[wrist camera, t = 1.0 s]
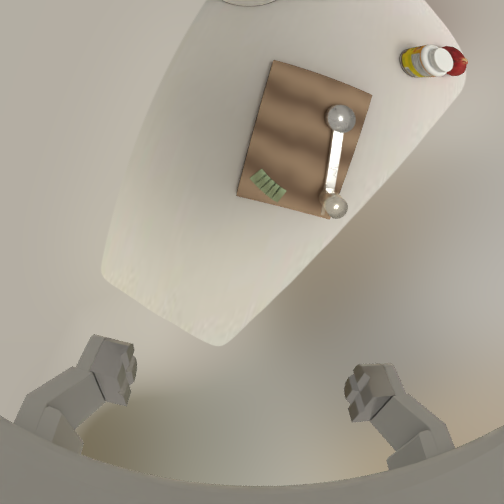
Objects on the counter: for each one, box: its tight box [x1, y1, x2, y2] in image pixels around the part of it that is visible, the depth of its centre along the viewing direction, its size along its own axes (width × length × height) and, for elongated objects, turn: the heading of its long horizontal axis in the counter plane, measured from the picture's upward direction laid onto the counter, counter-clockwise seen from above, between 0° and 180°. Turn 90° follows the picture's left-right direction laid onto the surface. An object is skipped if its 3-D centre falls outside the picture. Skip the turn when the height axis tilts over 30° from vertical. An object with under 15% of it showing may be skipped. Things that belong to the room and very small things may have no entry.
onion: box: [442, 46, 468, 76], centre depth 31 cm, size 6×6×8 cm
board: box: [237, 60, 372, 219], centre depth 43 cm, size 23×16×2 cm
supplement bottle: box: [400, 45, 453, 77], centre depth 31 cm, size 6×6×10 cm
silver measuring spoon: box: [319, 105, 356, 219], centre depth 40 cm, size 17×4×6 cm, turn 175°
